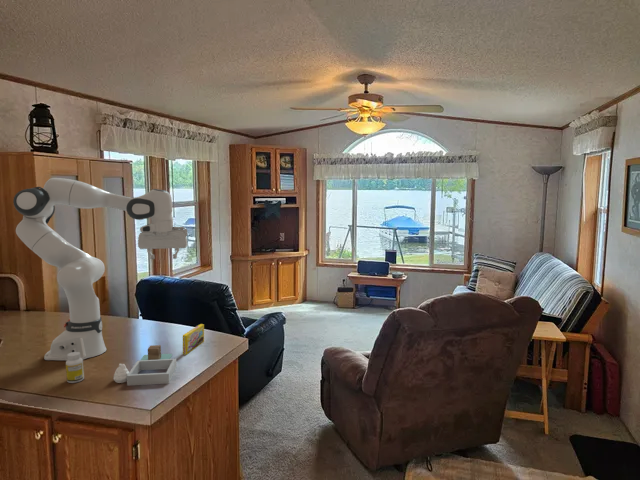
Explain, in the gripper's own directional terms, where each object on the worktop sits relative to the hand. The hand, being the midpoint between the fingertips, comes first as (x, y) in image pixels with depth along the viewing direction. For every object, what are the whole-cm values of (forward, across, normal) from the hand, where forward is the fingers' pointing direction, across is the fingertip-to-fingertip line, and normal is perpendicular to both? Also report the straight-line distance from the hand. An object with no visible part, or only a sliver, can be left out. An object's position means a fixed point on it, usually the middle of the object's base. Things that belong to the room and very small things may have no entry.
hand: (163, 258), depth 198 cm
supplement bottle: (+37, +24, +38) cm, 58 cm away
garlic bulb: (+37, +8, +40) cm, 55 cm away
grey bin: (+37, -2, +38) cm, 53 cm away
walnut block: (+36, 0, +24) cm, 43 cm away
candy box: (+38, -13, +10) cm, 41 cm away
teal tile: (+37, 0, +23) cm, 44 cm away
